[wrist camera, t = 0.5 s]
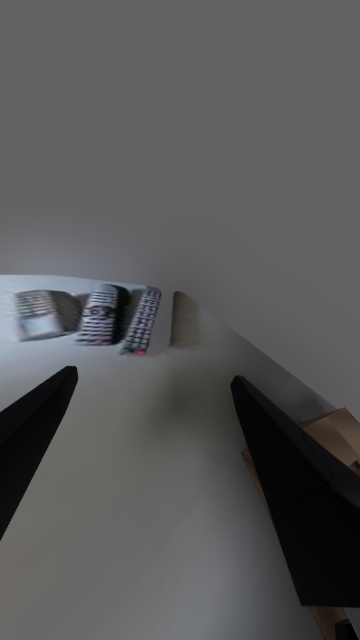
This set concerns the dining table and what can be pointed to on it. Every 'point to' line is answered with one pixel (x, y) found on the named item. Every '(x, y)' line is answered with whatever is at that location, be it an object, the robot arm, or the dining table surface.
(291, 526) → the robot arm
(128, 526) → the dining table surface
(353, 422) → the walnut box
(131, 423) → the dining table surface
